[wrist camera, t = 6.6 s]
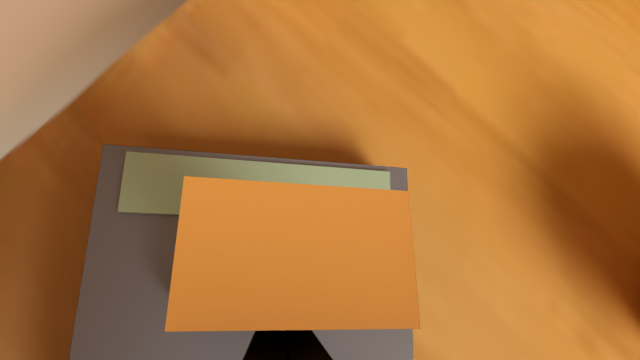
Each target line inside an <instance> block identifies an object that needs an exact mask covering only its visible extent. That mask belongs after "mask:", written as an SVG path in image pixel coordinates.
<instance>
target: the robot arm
mask: <svg viewBox="0 0 640 360" xmlns="http://www.w3.org/2000/svg"><path fill="white" fill-rule="evenodd" d="M243 360H333V359H332V358H331V356H330V355H329V353H328V352H327V351H326V349H325V348H324V346H323V345H322V344H321V342H320V341H319V339H318V338H317V337H316V335H315V334H314V332H313V331H312V330H268V331H255V332H254V334H253V337H252V339H251V341H250V344H249V346H248V348H247V350H246V353H245V355H244V357H243Z"/></svg>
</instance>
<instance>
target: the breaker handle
mask: <svg viewBox="0 0 640 360" xmlns="http://www.w3.org/2000/svg"><path fill="white" fill-rule="evenodd" d="M358 329H420V319H419V307H418V295H417V284H416V272H415V261H414V249H413V237H412V226H411V214H410V203H409V191H401V190H386V189H371V188H356V187H341V186H326V185H311V184H296V183H281V182H266V181H251V180H236V179H221V178H206V177H191V176H184V181H183V189H182V197H181V205H180V213H179V221H178V229H177V237H176V245H175V253H174V261H173V269H172V277H171V285H170V293H169V301H168V309H167V317H166V325H165V332H177V331H268V330H358Z"/></svg>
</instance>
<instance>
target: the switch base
mask: <svg viewBox="0 0 640 360" xmlns="http://www.w3.org/2000/svg"><path fill="white" fill-rule="evenodd" d="M184 176H191V177H206V178H221V179H236V180H251V181H266V182H281V183H296V184H311V185H326V186H341V187H356V188H371V189H386V190H401V191H408V185H407V168H398V167H385V166H372V165H360V164H347V163H335V162H322V161H309V160H297V159H284V158H272V157H259V156H247V155H234V154H221V153H209V152H196V151H184V150H171V149H158V148H146V147H133V146H121V145H108V144H103V149H102V156H101V162H100V168H99V175H98V181H97V187H96V193H95V200H94V206H93V212H92V218H91V225H90V231H89V237H88V243H87V250H86V256H85V262H84V268H83V275H82V281H81V287H80V293H79V300H78V306H77V312H76V318H75V325H74V331H73V337H72V343H71V350H70V356H69V360H243V357H244V355H245V353H246V350H247V348H248V346H249V344H250V341H251V339H252V337H253V334H254V332H255V331H177V332H165V325H166V317H167V309H168V301H169V293H170V285H171V277H172V269H173V261H174V253H175V245H176V237H177V229H178V221H179V213H180V205H181V197H182V189H183V181H184ZM312 331H313V332H314V334H315V335H316V337H317V338H318V339H319V341H320V342H321V344H322V345H323V346H324V348H325V349H326V351H327V352H328V353H329V355H330V356H331V358H332V359H333V360H413V334H412V329H358V330H312Z"/></svg>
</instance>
